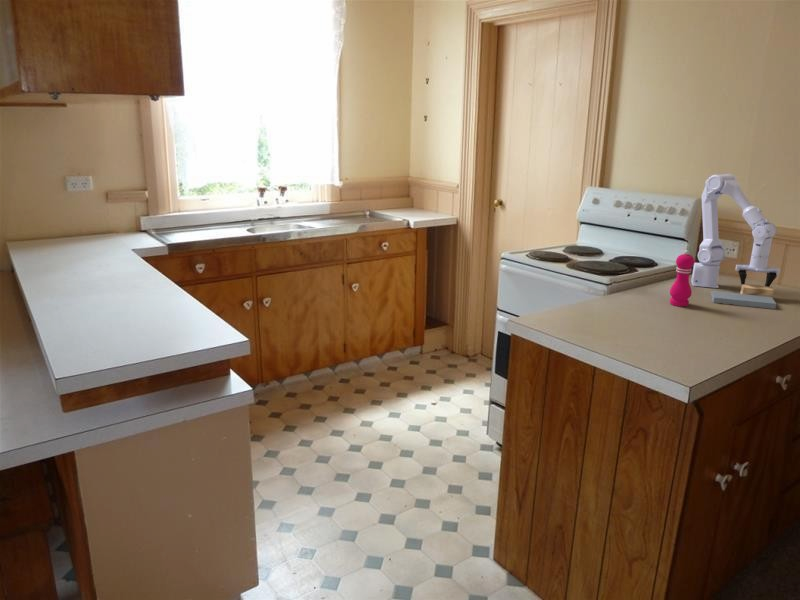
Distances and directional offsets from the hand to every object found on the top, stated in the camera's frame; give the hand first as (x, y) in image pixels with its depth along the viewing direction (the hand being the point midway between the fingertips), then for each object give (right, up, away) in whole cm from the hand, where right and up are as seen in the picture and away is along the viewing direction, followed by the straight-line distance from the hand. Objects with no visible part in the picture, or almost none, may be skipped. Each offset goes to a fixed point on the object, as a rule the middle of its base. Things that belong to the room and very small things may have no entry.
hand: (753, 290), depth 239 cm
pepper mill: (-33, -5, -11) cm, 36 cm away
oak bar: (-1, -3, -3) cm, 4 cm away
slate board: (-9, -4, -8) cm, 12 cm away
